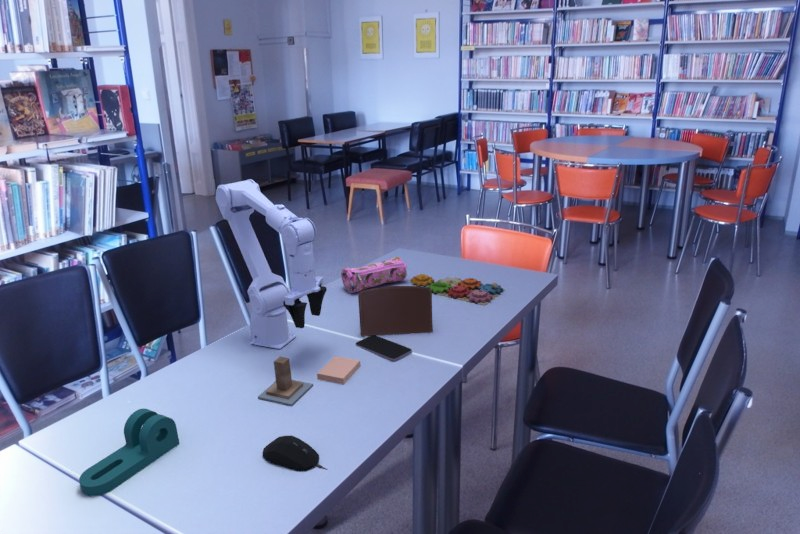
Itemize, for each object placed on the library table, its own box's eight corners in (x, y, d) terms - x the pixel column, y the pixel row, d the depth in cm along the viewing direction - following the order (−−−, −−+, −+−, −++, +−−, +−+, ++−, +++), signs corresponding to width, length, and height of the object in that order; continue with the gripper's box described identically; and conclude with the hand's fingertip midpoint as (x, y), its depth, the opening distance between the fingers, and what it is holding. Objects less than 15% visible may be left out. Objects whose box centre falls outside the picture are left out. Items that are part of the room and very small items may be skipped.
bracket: (157, 435, 120) (150, 402, 117) (179, 444, 116) (173, 411, 114) (73, 489, 105) (63, 453, 102) (96, 501, 102) (87, 464, 99)
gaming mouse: (319, 482, 105) (317, 464, 103) (256, 459, 111) (253, 442, 110) (339, 462, 110) (337, 444, 109) (277, 440, 117) (275, 424, 115)
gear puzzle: (400, 288, 192) (400, 277, 190) (426, 273, 204) (426, 262, 203) (485, 308, 175) (485, 295, 173) (508, 290, 187) (508, 279, 186)
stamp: (266, 394, 131) (262, 363, 129) (281, 381, 137) (277, 351, 134) (288, 399, 129) (285, 368, 127) (303, 385, 134) (300, 355, 132)
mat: (257, 398, 131) (257, 396, 131) (280, 379, 139) (280, 377, 138) (291, 406, 127) (291, 404, 127) (313, 385, 135) (312, 383, 135)
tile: (317, 373, 138) (343, 378, 135) (335, 355, 145) (360, 360, 143) (317, 380, 138) (343, 385, 136) (335, 362, 146) (360, 367, 143)
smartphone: (373, 334, 159) (413, 349, 149) (373, 338, 159) (413, 353, 149) (353, 343, 154) (393, 359, 144) (353, 347, 154) (393, 364, 144)
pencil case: (352, 298, 185) (350, 272, 182) (340, 289, 192) (338, 264, 189) (410, 284, 194) (409, 259, 191) (396, 276, 202) (395, 251, 199)
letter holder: (432, 333, 159) (432, 285, 155) (360, 337, 158) (357, 289, 154) (428, 318, 169) (428, 272, 164) (360, 321, 168) (357, 276, 163)
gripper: (300, 281, 132) (306, 335, 137) (332, 261, 145) (336, 311, 149) (274, 278, 135) (281, 331, 139) (307, 259, 147) (312, 308, 152)
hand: (308, 321), depth 144 cm, fingers open, 7 cm apart
